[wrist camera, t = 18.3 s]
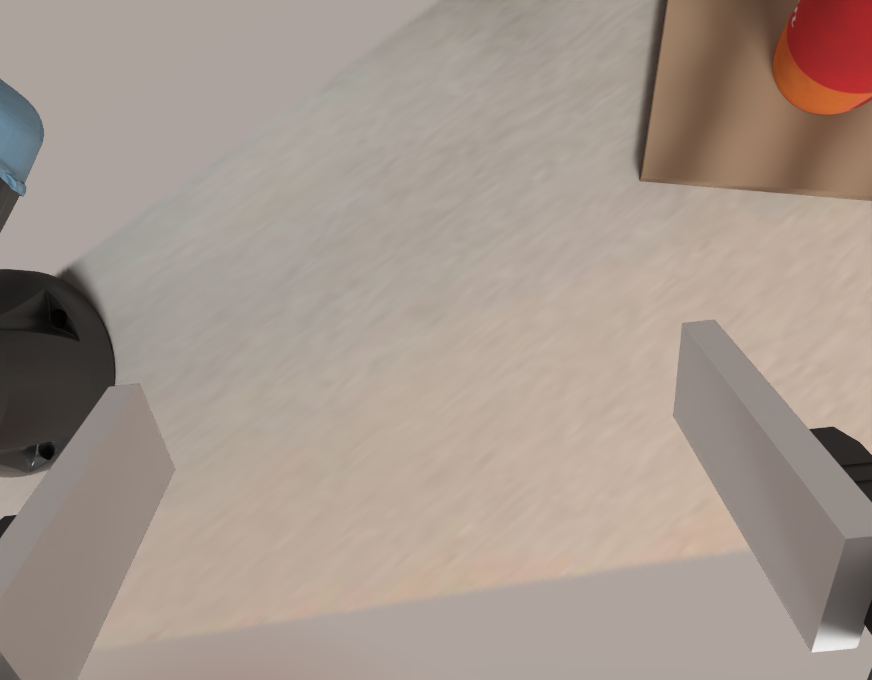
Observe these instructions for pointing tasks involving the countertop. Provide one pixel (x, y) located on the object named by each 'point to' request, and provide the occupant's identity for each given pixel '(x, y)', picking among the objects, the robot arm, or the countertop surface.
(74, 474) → the robot arm
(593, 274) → the countertop surface
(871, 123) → the walnut board
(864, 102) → the coffee cup
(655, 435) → the countertop surface
